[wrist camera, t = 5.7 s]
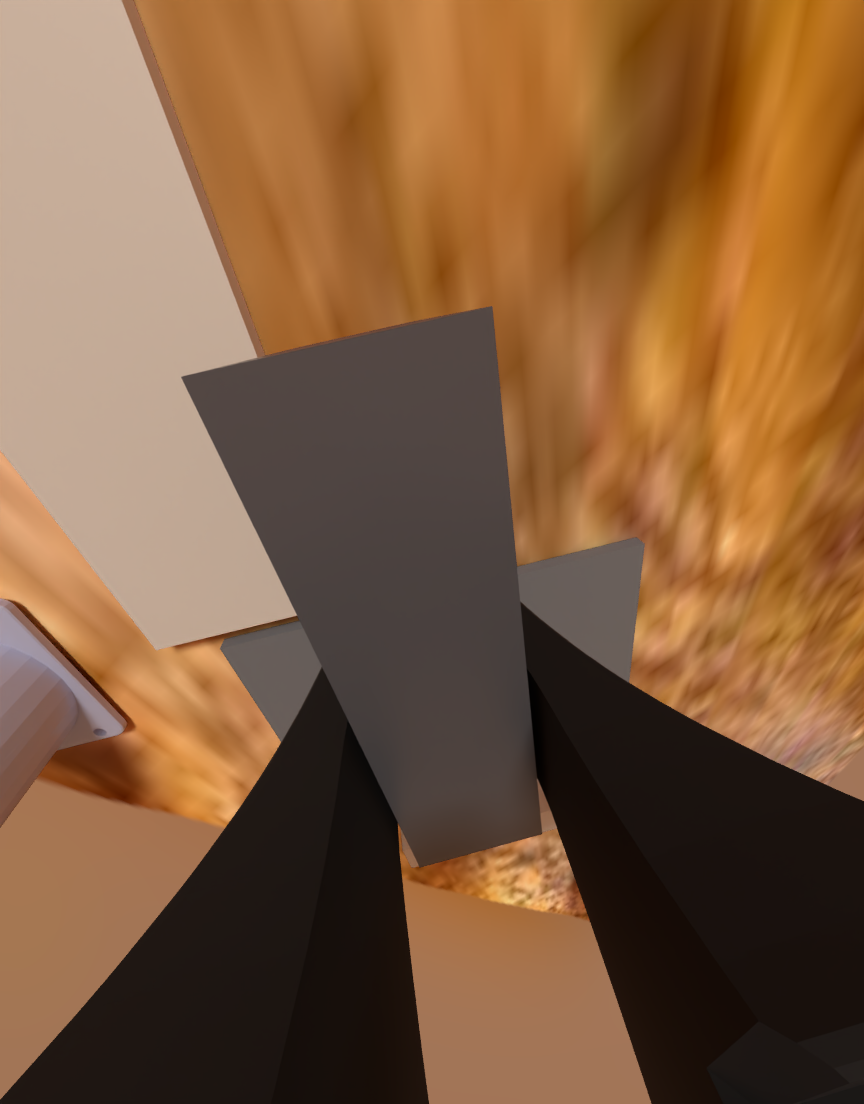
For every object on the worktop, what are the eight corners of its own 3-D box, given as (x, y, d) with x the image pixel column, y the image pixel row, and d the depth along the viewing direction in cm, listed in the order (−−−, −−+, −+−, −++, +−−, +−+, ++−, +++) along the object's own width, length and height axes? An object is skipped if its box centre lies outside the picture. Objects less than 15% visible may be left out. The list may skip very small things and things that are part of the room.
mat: (332, 808, 25) (331, 818, 24) (224, 639, 17) (220, 648, 17) (616, 733, 25) (622, 742, 25) (636, 537, 18) (644, 543, 17)
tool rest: (166, 633, 16) (156, 650, 16) (-291, 11, 8) (-373, -29, 7) (351, 588, 17) (350, 602, 16) (110, -63, 8) (80, -109, 7)
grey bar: (402, 762, 16) (420, 972, 11) (238, 360, 8) (18, 413, 3) (520, 731, 16) (595, 922, 11) (469, 308, 8) (641, 272, 3)
